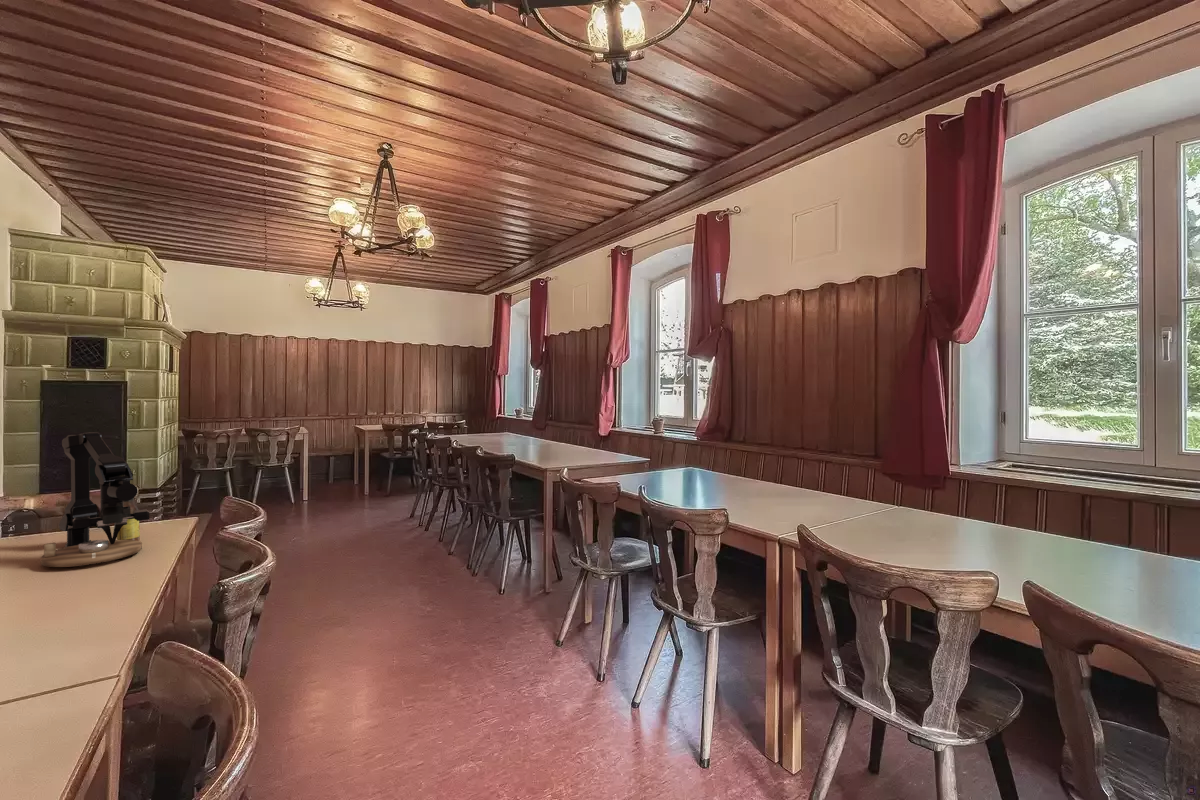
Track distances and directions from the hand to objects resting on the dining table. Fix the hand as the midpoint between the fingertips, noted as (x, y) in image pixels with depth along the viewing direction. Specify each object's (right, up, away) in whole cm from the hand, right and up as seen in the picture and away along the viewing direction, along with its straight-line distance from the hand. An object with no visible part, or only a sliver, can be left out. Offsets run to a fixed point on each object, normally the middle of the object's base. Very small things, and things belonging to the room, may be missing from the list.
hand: (112, 544), depth 175 cm
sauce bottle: (-9, -4, +15) cm, 18 cm away
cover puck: (-3, -1, -3) cm, 5 cm away
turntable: (-3, -3, -3) cm, 5 cm away
